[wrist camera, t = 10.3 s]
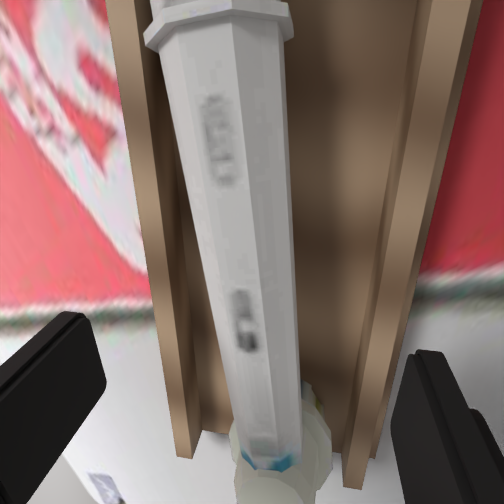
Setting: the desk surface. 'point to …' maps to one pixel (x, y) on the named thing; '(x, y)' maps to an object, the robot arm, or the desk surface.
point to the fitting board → (311, 202)
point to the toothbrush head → (245, 230)
